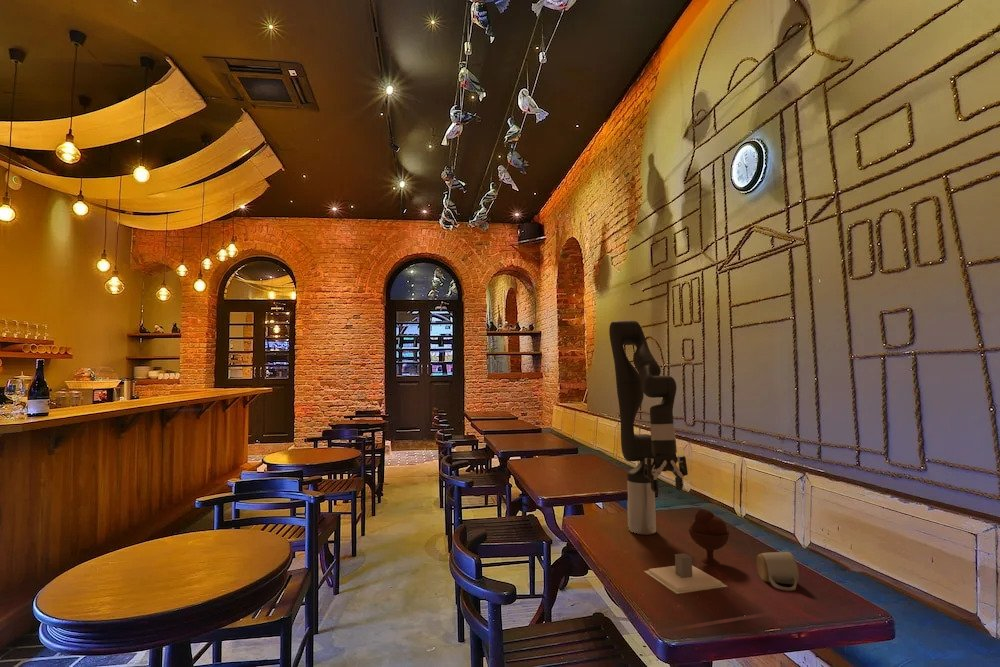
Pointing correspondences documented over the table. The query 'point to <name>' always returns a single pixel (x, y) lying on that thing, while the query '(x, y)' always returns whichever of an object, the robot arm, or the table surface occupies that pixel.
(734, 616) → the table surface
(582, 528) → the table surface
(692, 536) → the ice cream bowl
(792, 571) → the ceramic mug
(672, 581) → the cover board
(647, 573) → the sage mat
